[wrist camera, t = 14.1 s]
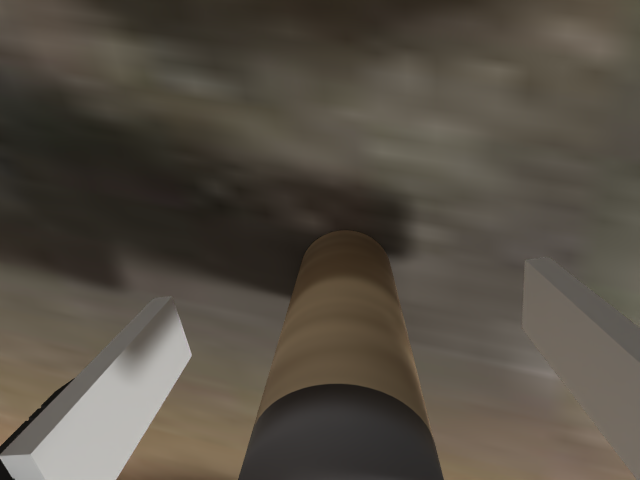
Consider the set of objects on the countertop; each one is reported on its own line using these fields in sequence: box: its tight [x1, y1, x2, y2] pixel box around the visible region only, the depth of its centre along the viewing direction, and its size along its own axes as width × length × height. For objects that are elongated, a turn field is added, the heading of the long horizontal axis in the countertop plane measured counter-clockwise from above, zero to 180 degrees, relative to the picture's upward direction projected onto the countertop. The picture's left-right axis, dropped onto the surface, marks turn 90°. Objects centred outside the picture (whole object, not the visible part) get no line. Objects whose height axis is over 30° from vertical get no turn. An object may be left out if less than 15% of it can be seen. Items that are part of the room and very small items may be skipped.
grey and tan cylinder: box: [238, 230, 444, 480], centre depth 12 cm, size 4×4×10 cm
